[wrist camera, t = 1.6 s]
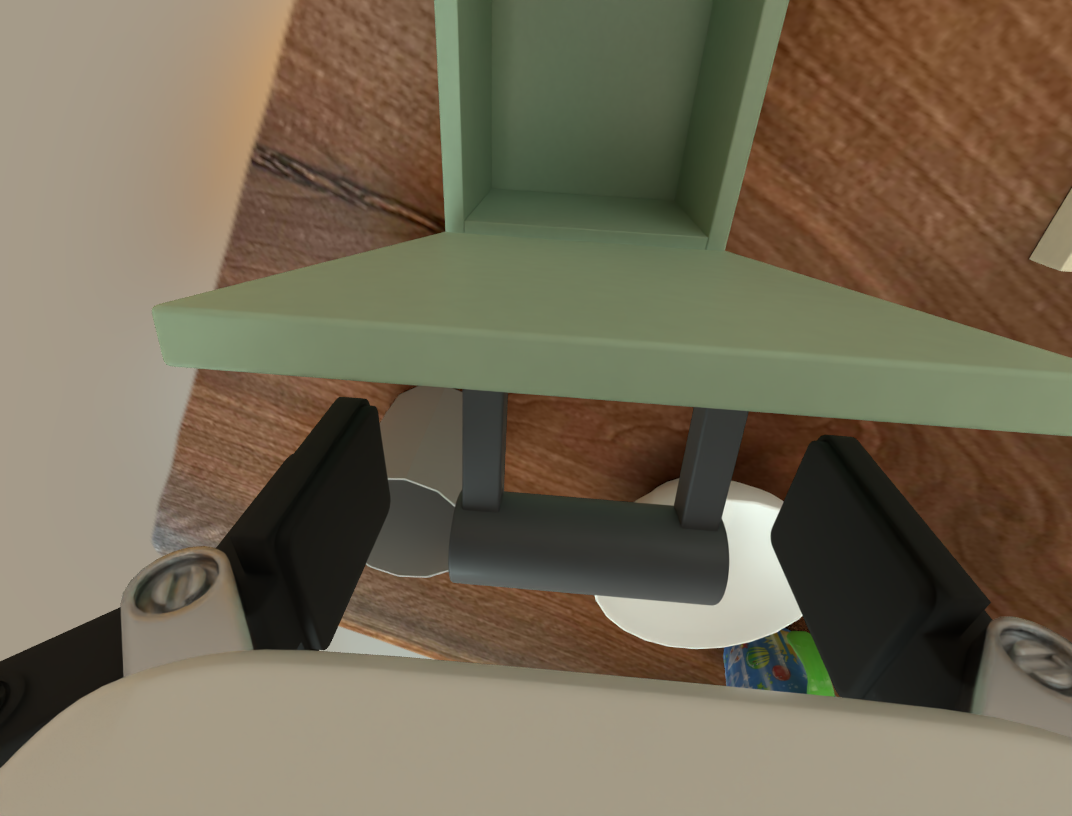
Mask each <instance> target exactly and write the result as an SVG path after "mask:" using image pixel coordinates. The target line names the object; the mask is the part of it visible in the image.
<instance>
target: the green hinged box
mask: <svg viewBox="0 0 1072 816" xmlns="http://www.w3.org/2000/svg"><path fill="white" fill-rule="evenodd" d="M788 3H789V0H434V6H435V26H436V47H437V67H438V87H439V108H440V128H441V148H442V169H443V189H444V210H445V230H446V232H452V233H467V234H482V235H496V236H511V237H525V238H540V239H554V240H569V241H583V242H598V243H613V244H627V245H642V246H656V247H671V248H685V249H700V250H714V251H725V247H726V243H727V239H728V235H729V232H730V228H731V224H732V220H733V216H734V212H735V208H736V204H737V201H738V197H739V193H740V189H741V185H742V181H743V177H744V173H745V170H746V166H747V162H748V158H749V154H750V150H751V146H752V143H753V139H754V135H755V131H756V127H757V123H758V119H759V115H760V112H761V108H762V104H763V100H764V96H765V92H766V88H767V84H768V81H769V77H770V73H771V69H772V65H773V61H774V57H775V53H776V50H777V46H778V42H779V38H780V34H781V30H782V26H783V22H784V19H785V15H786V11H787V7H788Z"/></svg>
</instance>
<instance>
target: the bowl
mask: <svg viewBox="0 0 1072 816" xmlns="http://www.w3.org/2000/svg"><path fill="white" fill-rule="evenodd" d="M678 483H679V478H678V479H675V480H671V481H668V482H666V483H664V484H662V485H660V486H658V487H657V488H655V489H654V490H653V491H652V492H650V493H648V494H647V495H645V496H643V497H641V498H639V499H638V500H636V501H635V502H637V503H649V504H661V505H673V506H674V502H675V497H676V492H677V487H678ZM783 502H784V501H782V500H781V499H779V498H777V497H776V496H774V495H773V494H771V493H769V492H766V491H764V490H761V489H758V488H755V487H752V486H749V485H746V484H742V483H739V482H735V481H731V483H730V487H729V491H728V495H727V499H726V503H725V507H724V511H723V515H722V520H723V522H724V525H725V529H726V533H727V538H728V545H729V575H728V582H727V587H726V590H725V593H724V596H723V598H722V600H721V601H720V602H719V603H718V604H716V605H713V606H711V605H700V604H689V603H677V602H666V601H655V600H643V599H632V598H621V597H610V596H598V595H595V599H596V601H597V603H598V604H599V606H600V607H601V609H602V610H603V612H604V613H605V615H606V616H607V617H608V618H609V619H610V620H611V621H613V622H614V623H615V624H616V625H618V626H619V627H620V628H621V629H623V630H624V631H626V632H629V633H631V634H633V635H635V636H637V637H639V638H641V639H643V640H646V641H650V642H654V643H658V644H661V645H665V646H669V647H680V648H690V649H704V648H723V647H728V646H733V645H738V644H743V643H748V642H752V641H755V640H757V639H760V638H763V637H766V636H768V635H771V634H774V633H776V632H778V631H780V630H781V629H783V628H785V627H786V626H788V625H790V624H792V623H793V622H795V621H797V620H798V619H800V618H801V617H802V616H803V615H802V613H801V611H800V609H799V606H798V604H797V602H796V600H795V597H794V595H793V593H792V590H791V588H790V586H789V584H788V581H787V579H786V577H785V575H784V572H783V570H782V568H781V565H780V563H779V561H778V559H777V556H776V554H775V552H774V550H773V547H772V544H771V537H770V535H771V530H772V527H773V525H774V522H775V520H776V518H777V516H778V513H779V511H780V509H781V506H782V504H783Z"/></svg>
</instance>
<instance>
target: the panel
mask: <svg viewBox="0 0 1072 816" xmlns="http://www.w3.org/2000/svg"><path fill="white" fill-rule="evenodd" d="M1030 260H1032V261H1035V262H1037V263H1040V264H1043V265H1046V266H1048V267H1051V268H1054V269H1056V270H1059V271H1068V272H1072V188H1071V190H1070V192H1069V193H1068V195H1067V197H1066V198H1065V200H1064V202H1063V203H1062V205H1061V207H1060V208H1059V210H1058V212H1057V213H1056V215H1055V217H1054V218H1053V220H1052V222H1051V223H1050V225H1049V227H1048V228H1047V230H1046V232H1045V233H1044V235H1043V237H1042V238H1041V240H1040V242H1039V243H1038V245H1037V247H1036V248H1035V250H1034V252H1033V253H1032V255H1031V257H1030Z"/></svg>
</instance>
